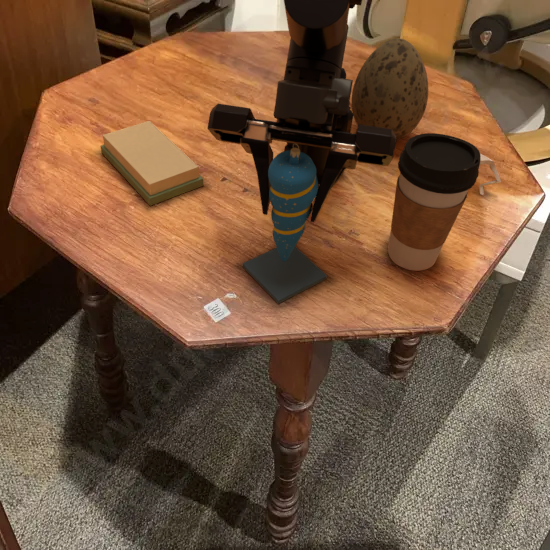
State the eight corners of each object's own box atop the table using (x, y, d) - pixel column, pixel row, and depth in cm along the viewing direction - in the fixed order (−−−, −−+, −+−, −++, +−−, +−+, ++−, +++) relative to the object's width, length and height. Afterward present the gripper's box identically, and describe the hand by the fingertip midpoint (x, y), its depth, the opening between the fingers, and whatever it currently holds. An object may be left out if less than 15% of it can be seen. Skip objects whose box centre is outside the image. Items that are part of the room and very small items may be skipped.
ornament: (286, 282, 66) (302, 167, 55) (250, 259, 68) (259, 144, 58) (314, 259, 69) (334, 146, 59) (279, 238, 71) (293, 125, 61)
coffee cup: (430, 289, 70) (467, 183, 59) (365, 258, 73) (389, 152, 62) (457, 249, 75) (495, 145, 64) (395, 222, 78) (422, 118, 67)
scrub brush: (152, 136, 88) (150, 118, 86) (203, 185, 81) (203, 167, 79) (101, 152, 85) (98, 134, 82) (150, 206, 77) (148, 187, 75)
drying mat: (289, 244, 73) (289, 241, 73) (326, 279, 70) (327, 275, 69) (242, 266, 70) (242, 263, 70) (278, 304, 67) (278, 300, 66)
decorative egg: (332, 127, 93) (345, 30, 82) (388, 112, 97) (408, 18, 86) (372, 164, 86) (393, 64, 76) (431, 147, 91) (458, 50, 80)
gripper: (210, 24, 55) (182, 194, 55) (415, 52, 53) (385, 226, 54) (229, 66, 66) (206, 207, 66) (400, 90, 65) (375, 234, 65)
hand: (288, 218), depth 63 cm, fingers closed on ornament, 5 cm apart
